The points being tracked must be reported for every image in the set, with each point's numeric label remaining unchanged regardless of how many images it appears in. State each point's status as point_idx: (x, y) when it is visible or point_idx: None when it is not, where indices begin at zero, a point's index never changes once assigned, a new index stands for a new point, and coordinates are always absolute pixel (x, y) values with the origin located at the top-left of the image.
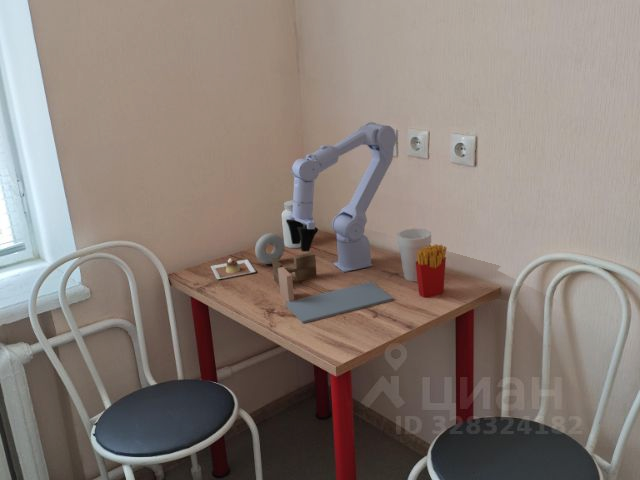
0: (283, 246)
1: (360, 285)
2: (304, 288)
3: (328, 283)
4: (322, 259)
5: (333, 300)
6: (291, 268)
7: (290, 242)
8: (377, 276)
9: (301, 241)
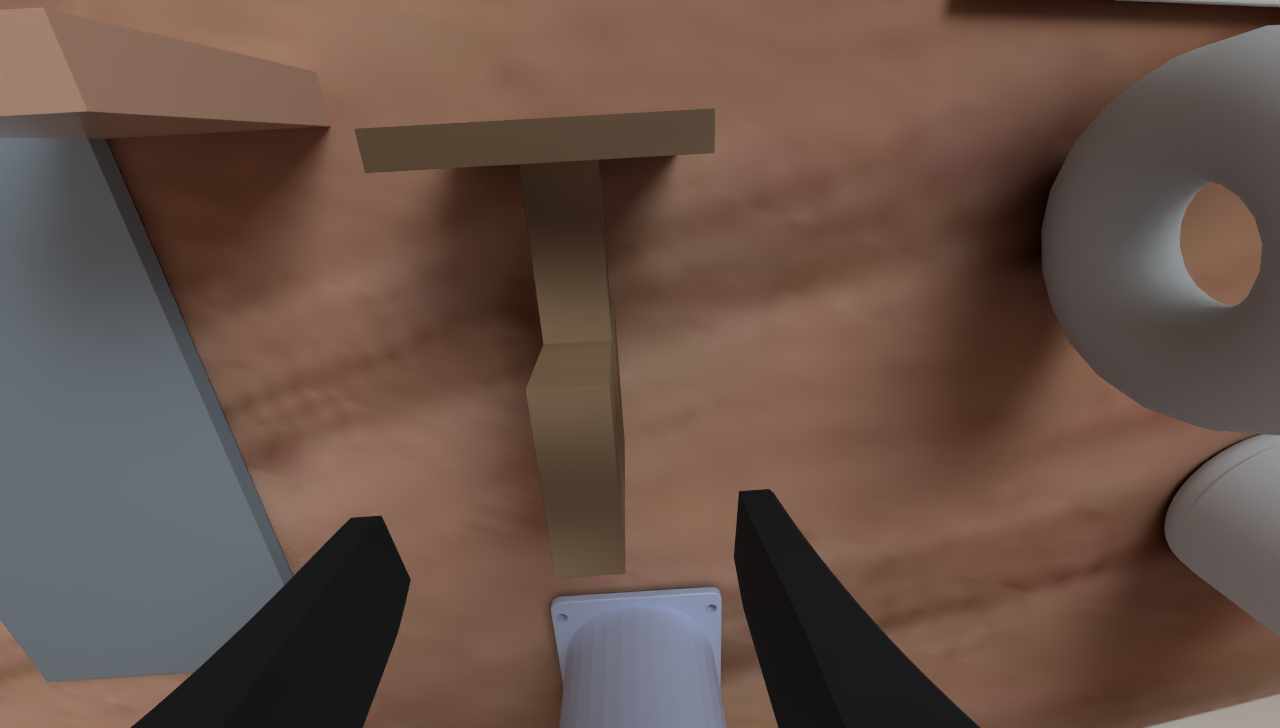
0: (1132, 394)
1: None
2: (387, 304)
3: (419, 472)
4: (849, 557)
5: (44, 412)
6: (562, 297)
7: (1272, 479)
8: (420, 700)
9: (225, 660)
